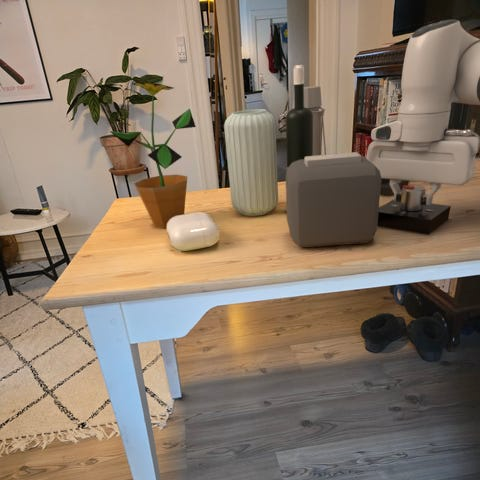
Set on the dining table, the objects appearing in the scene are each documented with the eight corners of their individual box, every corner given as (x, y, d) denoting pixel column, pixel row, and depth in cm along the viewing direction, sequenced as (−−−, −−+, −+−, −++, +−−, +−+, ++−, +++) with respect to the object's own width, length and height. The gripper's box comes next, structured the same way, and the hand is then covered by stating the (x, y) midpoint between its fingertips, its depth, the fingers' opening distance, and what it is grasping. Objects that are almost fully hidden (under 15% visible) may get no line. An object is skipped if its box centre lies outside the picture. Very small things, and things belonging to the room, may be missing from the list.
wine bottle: (316, 212, 97) (317, 63, 81) (293, 216, 95) (290, 65, 80) (306, 206, 101) (305, 64, 86) (284, 210, 100) (280, 66, 85)
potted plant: (213, 228, 93) (194, 75, 78) (130, 241, 91) (93, 86, 75) (202, 207, 108) (184, 76, 93) (131, 218, 106) (100, 85, 90)
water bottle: (288, 192, 114) (286, 89, 101) (301, 185, 119) (300, 87, 106) (319, 194, 109) (321, 87, 96) (331, 187, 114) (334, 84, 101)
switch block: (407, 186, 108) (409, 171, 106) (390, 196, 102) (392, 180, 100) (366, 182, 115) (367, 167, 113) (347, 191, 110) (348, 175, 108)
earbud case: (173, 258, 80) (169, 232, 77) (167, 237, 91) (162, 213, 88) (224, 249, 82) (221, 223, 79) (211, 229, 93) (208, 206, 90)
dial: (426, 206, 84) (429, 185, 81) (417, 212, 81) (420, 190, 79) (405, 203, 86) (408, 183, 84) (396, 209, 84) (398, 188, 82)
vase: (285, 205, 104) (282, 107, 92) (268, 219, 95) (263, 113, 83) (244, 203, 108) (236, 109, 97) (224, 217, 100) (213, 116, 88)
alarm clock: (365, 226, 86) (371, 147, 77) (379, 246, 76) (388, 158, 68) (287, 232, 87) (285, 154, 79) (291, 253, 77) (289, 166, 69)
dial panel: (448, 220, 85) (451, 204, 83) (428, 235, 79) (431, 218, 77) (393, 211, 92) (394, 197, 90) (371, 225, 86) (372, 210, 84)
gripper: (488, 126, 71) (472, 205, 79) (379, 125, 84) (373, 193, 91) (476, 132, 68) (460, 214, 75) (363, 130, 80) (359, 200, 88)
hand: (411, 202), depth 83 cm, fingers closed on dial, 4 cm apart
